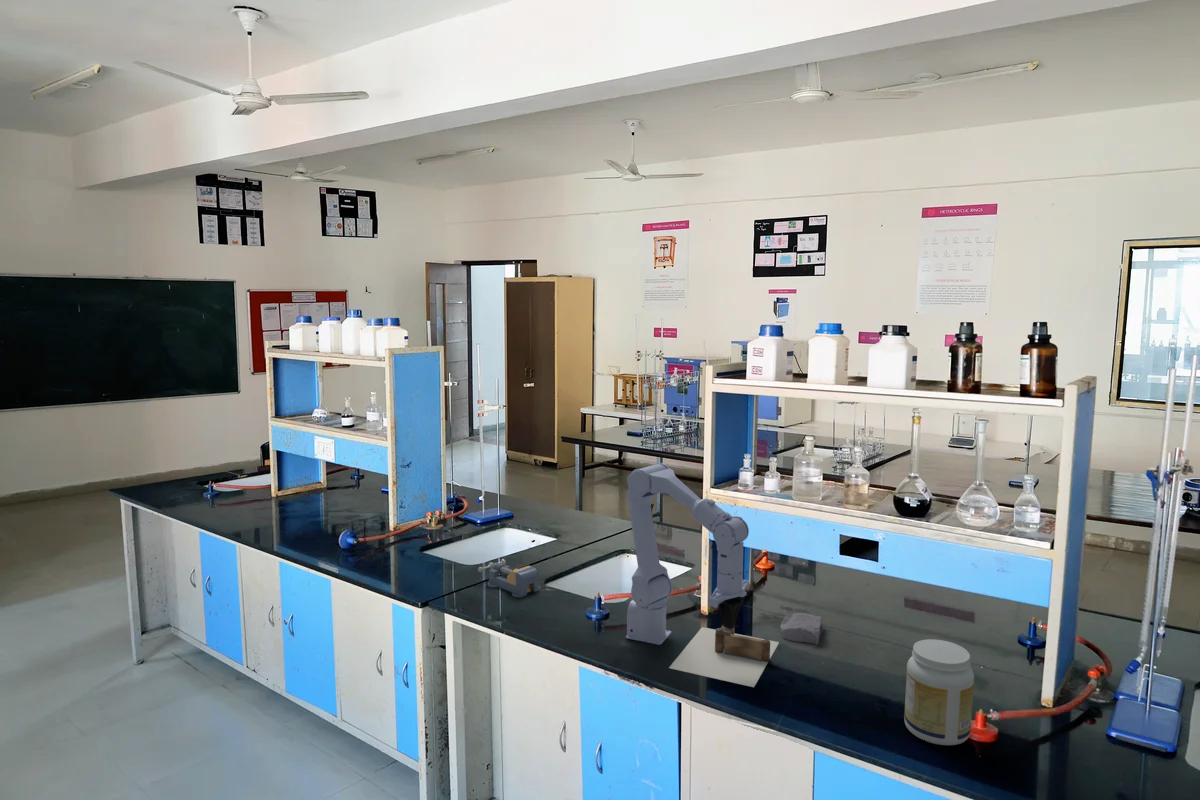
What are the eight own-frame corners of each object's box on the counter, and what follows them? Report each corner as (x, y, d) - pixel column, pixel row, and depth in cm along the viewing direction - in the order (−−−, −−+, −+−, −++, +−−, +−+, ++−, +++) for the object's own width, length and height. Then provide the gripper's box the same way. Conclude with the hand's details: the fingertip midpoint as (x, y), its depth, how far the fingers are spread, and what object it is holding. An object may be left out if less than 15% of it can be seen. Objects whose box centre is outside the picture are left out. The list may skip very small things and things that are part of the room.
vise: (544, 588, 228) (543, 567, 227) (517, 599, 220) (517, 577, 219) (503, 573, 240) (503, 553, 239) (477, 583, 232) (476, 562, 231)
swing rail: (714, 651, 187) (714, 630, 186) (716, 648, 189) (717, 627, 188) (768, 662, 182) (769, 640, 181) (770, 658, 184) (771, 637, 183)
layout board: (668, 669, 180) (668, 667, 180) (702, 628, 201) (702, 626, 201) (753, 688, 171) (753, 687, 171) (779, 643, 192) (779, 642, 192)
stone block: (781, 648, 194) (822, 646, 191) (777, 629, 194) (818, 627, 191) (785, 630, 205) (823, 627, 202) (782, 612, 205) (820, 609, 202)
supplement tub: (951, 713, 161) (957, 636, 159) (982, 747, 149) (988, 664, 147) (893, 714, 161) (898, 637, 158) (919, 749, 149) (924, 666, 146)
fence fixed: (713, 652, 187) (714, 633, 187) (727, 633, 197) (728, 615, 197) (721, 653, 186) (722, 635, 186) (735, 634, 197) (735, 617, 196)
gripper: (728, 584, 169) (726, 643, 171) (761, 566, 180) (759, 621, 182) (701, 576, 174) (700, 633, 176) (735, 559, 185) (733, 613, 187)
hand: (728, 627), depth 179 cm, fingers closed
